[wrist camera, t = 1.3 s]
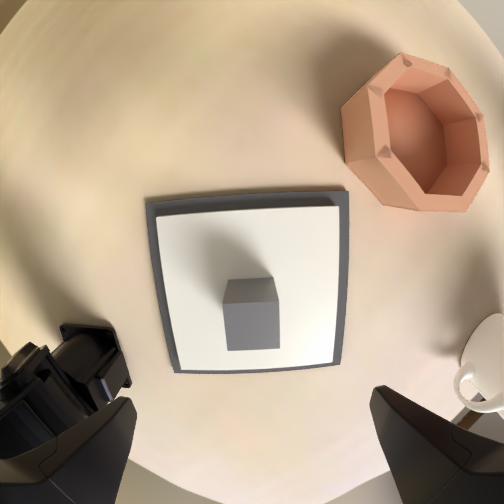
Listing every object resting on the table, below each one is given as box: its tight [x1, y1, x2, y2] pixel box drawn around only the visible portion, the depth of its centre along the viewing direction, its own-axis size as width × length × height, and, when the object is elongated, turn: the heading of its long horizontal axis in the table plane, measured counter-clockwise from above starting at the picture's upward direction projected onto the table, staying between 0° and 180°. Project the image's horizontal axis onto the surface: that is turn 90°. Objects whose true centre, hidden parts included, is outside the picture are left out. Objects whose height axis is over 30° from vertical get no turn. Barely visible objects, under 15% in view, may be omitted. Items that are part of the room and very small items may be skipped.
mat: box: [145, 191, 349, 374], centre depth 19 cm, size 14×14×1 cm
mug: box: [454, 313, 504, 419], centre depth 16 cm, size 9×12×11 cm
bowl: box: [340, 53, 490, 212], centre depth 15 cm, size 10×10×5 cm
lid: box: [156, 206, 339, 370], centre depth 17 cm, size 12×12×5 cm
